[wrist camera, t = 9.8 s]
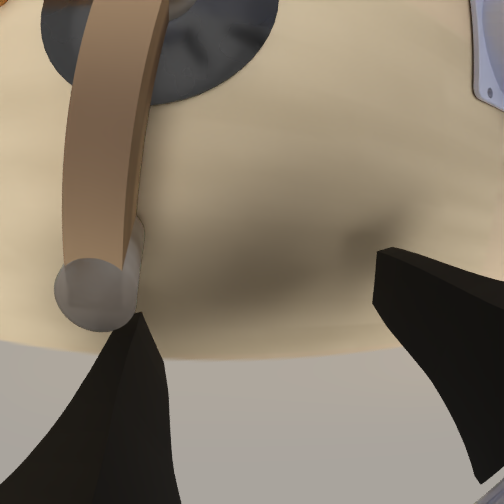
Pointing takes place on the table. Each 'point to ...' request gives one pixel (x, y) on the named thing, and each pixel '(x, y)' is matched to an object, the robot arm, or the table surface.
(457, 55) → the table surface
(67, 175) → the crank
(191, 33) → the crank base
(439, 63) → the table surface
